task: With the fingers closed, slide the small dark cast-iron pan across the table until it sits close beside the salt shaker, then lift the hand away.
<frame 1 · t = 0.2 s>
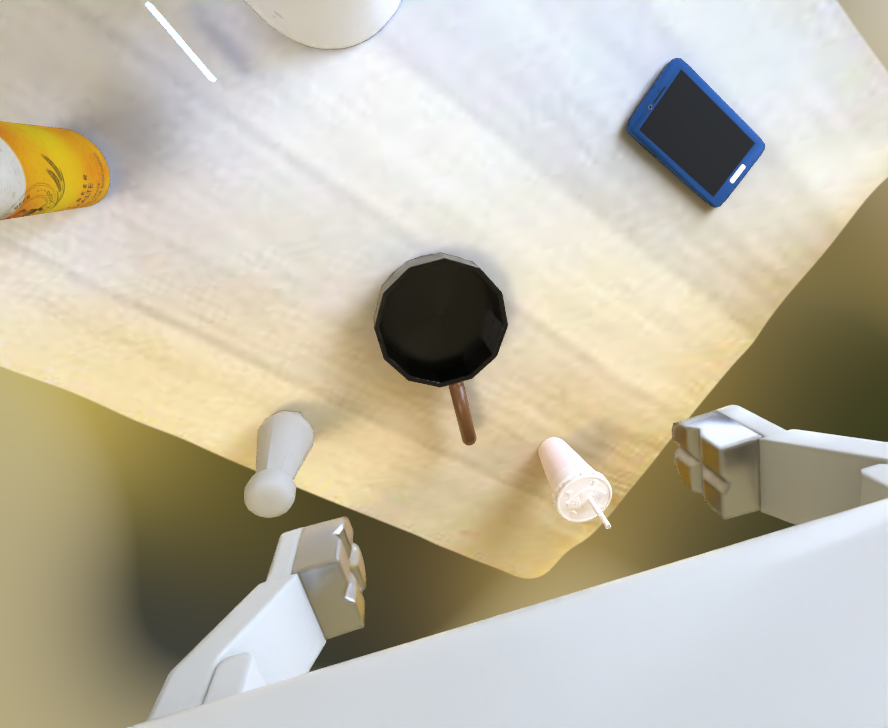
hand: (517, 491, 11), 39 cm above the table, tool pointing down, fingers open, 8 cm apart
cell phone: (693, 137, 47), on the table
salt shaker: (289, 425, 52), on the table
beer can: (76, 168, 40), on the table
pan: (437, 315, 50), on the table
smoothie: (551, 448, 59), on the table
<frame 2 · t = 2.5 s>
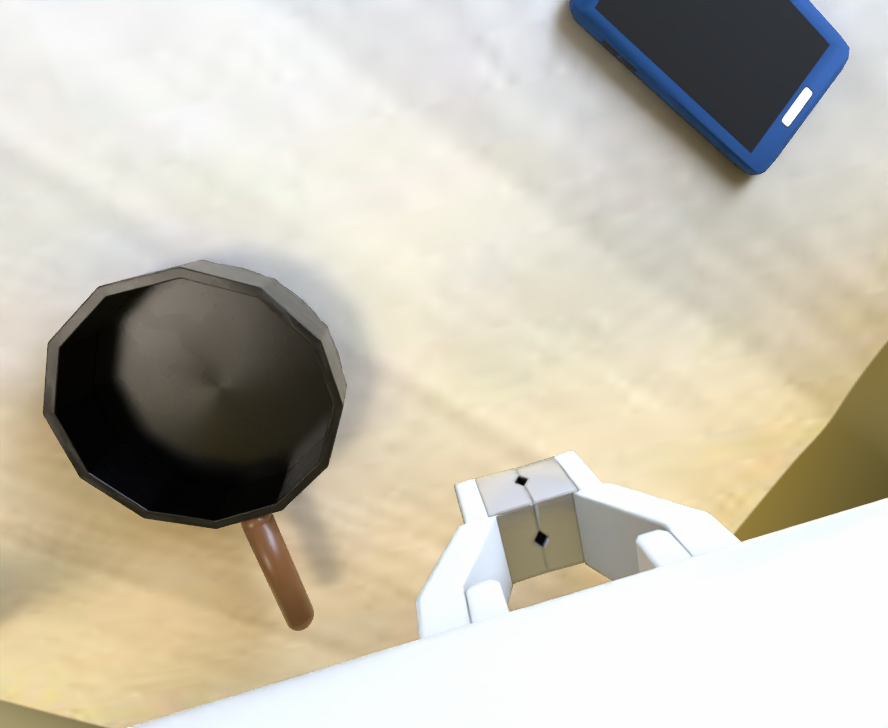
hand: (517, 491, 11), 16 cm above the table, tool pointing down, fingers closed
cell phone: (706, 35, 24), on the table
pan: (222, 383, 26), on the table
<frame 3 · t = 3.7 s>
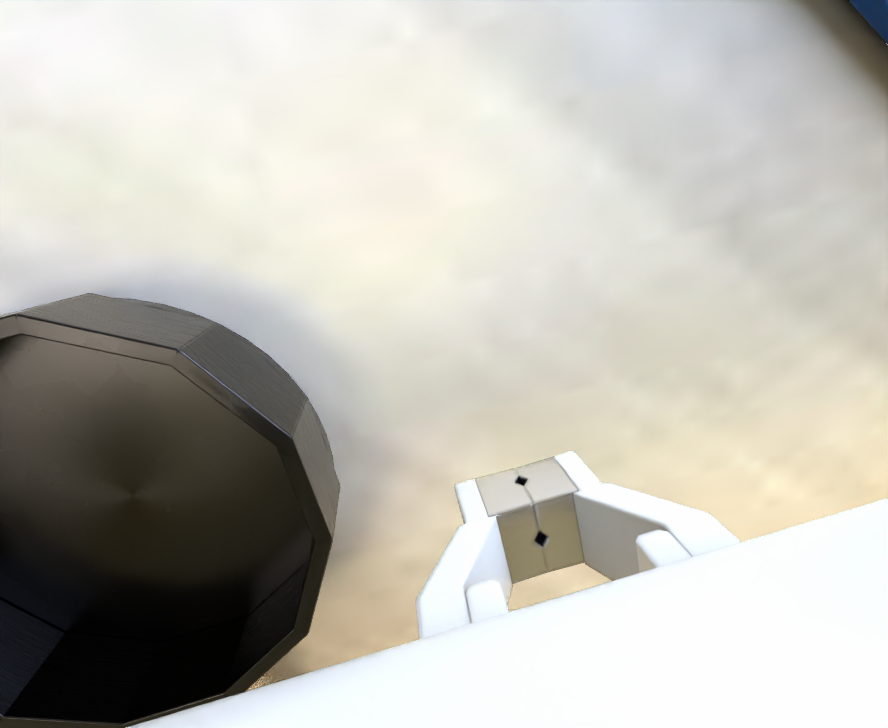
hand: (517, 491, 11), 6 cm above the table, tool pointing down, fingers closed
pan: (141, 485, 16), on the table
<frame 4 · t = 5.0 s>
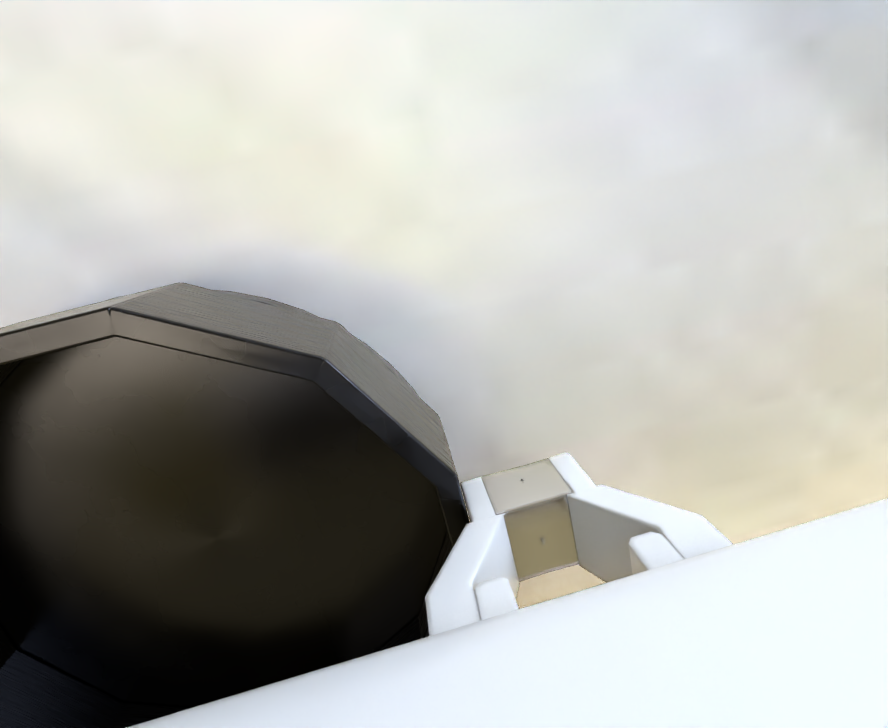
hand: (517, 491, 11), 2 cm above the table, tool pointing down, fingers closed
pan: (223, 524, 13), on the table, touching gripper
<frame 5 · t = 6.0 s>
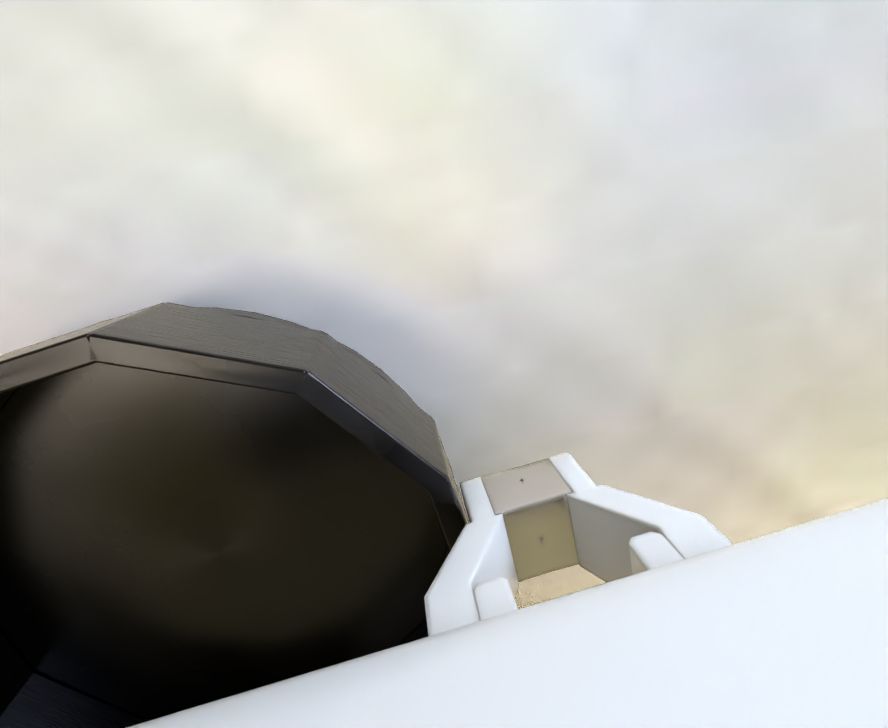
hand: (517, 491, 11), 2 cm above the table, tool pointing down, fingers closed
pan: (227, 538, 13), on the table, touching gripper
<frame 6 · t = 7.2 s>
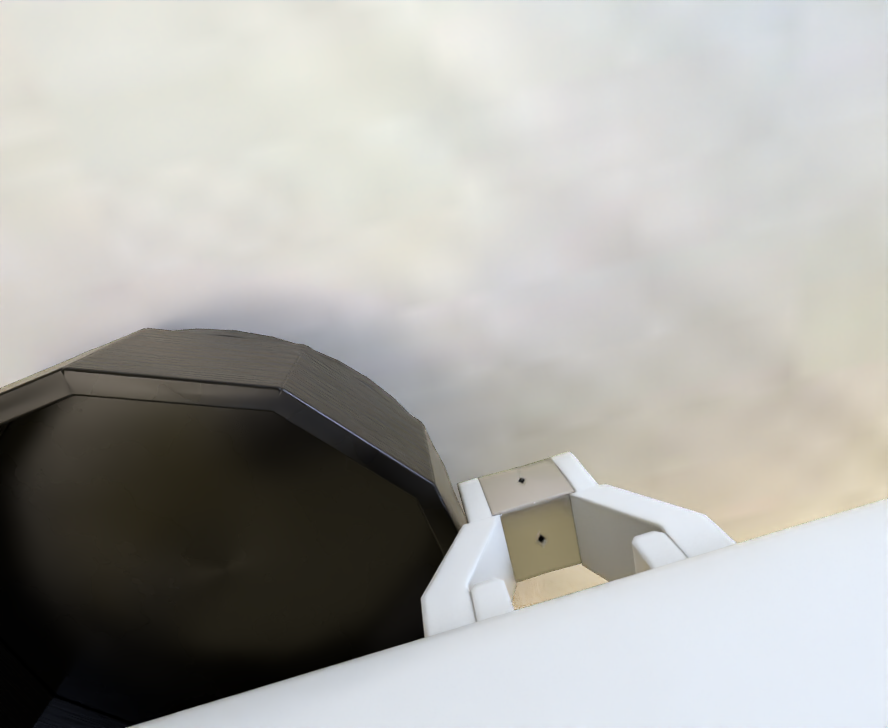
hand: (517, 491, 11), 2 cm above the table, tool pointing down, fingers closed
pan: (230, 554, 13), on the table, touching gripper
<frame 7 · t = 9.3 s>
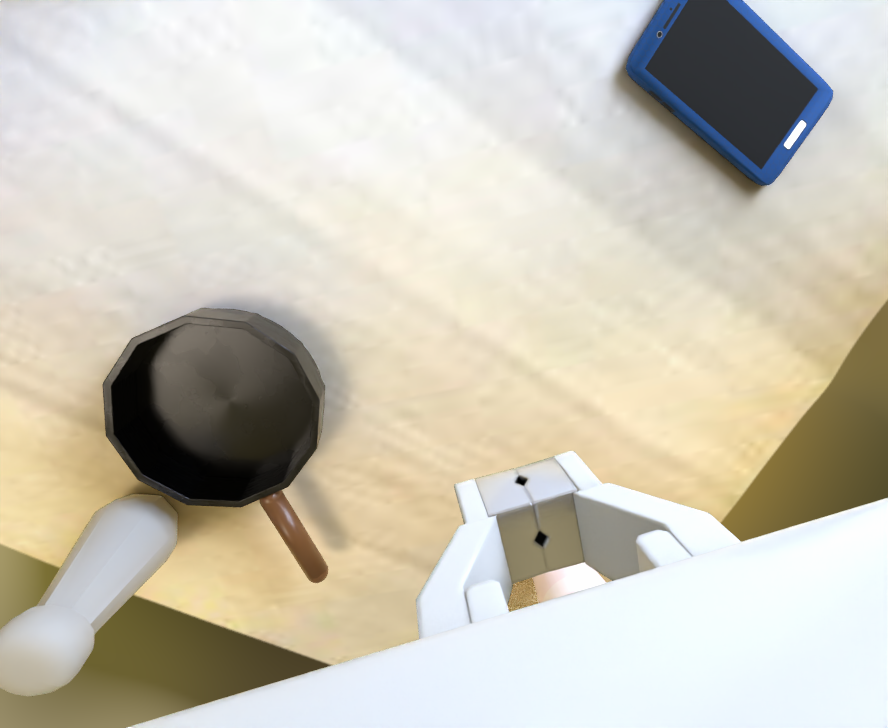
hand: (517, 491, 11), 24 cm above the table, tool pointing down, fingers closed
cell phone: (725, 84, 32), on the table
salt shaker: (149, 515, 35), on the table
pan: (231, 398, 34), on the table
smoothie: (544, 542, 41), on the table
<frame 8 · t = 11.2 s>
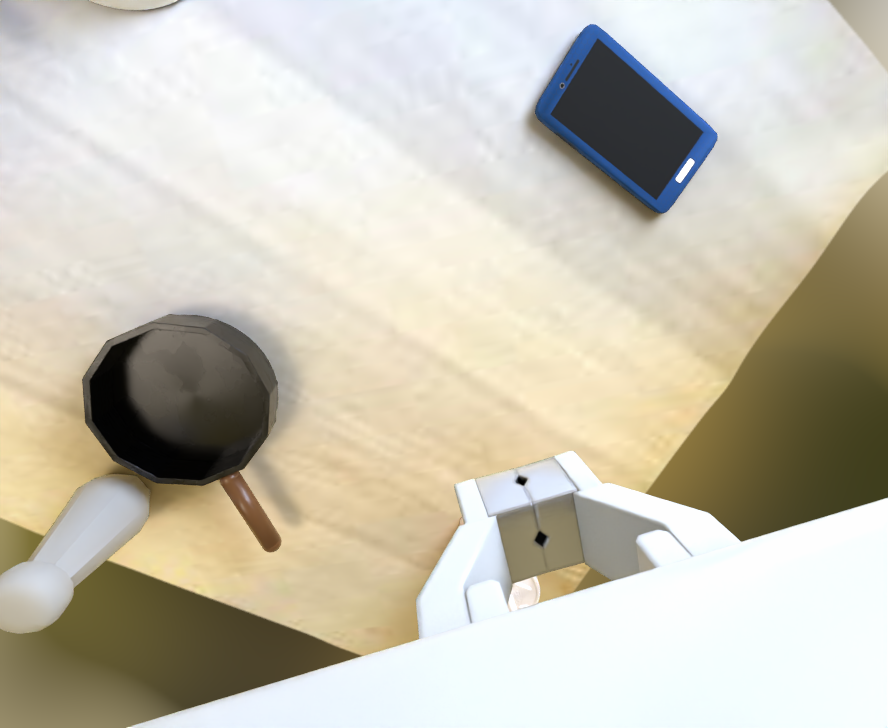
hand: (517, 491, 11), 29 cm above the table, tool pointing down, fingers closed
cell phone: (624, 126, 37), on the table
salt shaker: (125, 492, 41), on the table
pan: (196, 392, 39), on the table
smoothie: (477, 521, 46), on the table
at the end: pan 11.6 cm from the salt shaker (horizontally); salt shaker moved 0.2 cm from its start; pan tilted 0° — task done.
